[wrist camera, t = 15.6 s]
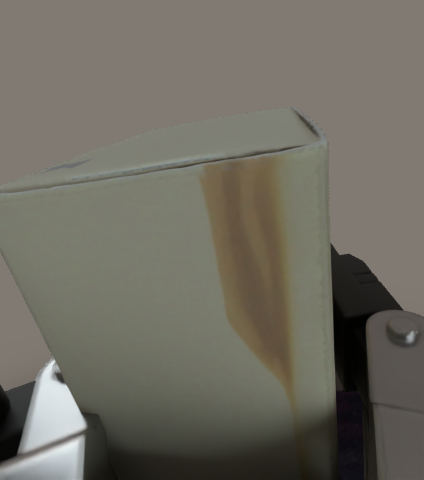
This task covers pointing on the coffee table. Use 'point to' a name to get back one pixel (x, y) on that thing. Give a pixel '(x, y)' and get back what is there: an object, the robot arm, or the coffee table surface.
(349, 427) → the coffee table surface
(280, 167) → the cosmetic box
